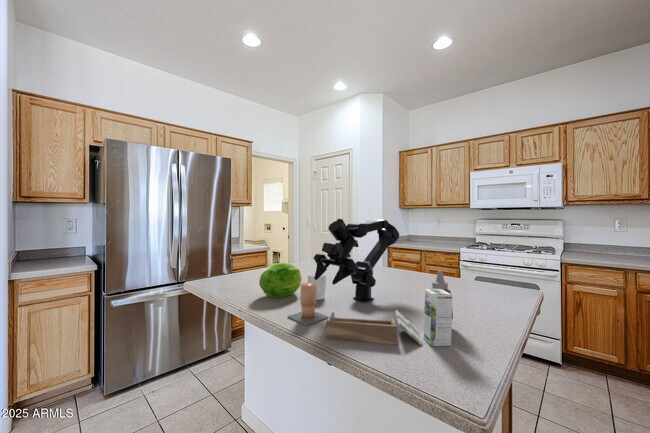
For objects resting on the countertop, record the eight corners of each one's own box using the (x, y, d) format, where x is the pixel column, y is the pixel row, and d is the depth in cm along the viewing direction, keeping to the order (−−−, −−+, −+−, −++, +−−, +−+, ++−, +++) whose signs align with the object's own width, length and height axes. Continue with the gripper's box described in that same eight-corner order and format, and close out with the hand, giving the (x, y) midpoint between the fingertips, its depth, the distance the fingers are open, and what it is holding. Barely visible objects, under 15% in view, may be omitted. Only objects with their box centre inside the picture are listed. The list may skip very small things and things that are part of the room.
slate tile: (309, 310, 105) (309, 309, 105) (328, 317, 98) (328, 316, 98) (287, 317, 98) (287, 316, 98) (306, 325, 91) (306, 324, 91)
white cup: (324, 301, 117) (324, 277, 117) (305, 300, 118) (305, 276, 118) (327, 295, 125) (327, 273, 124) (310, 294, 126) (310, 272, 126)
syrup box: (422, 337, 83) (423, 288, 83) (442, 337, 84) (442, 288, 84) (431, 347, 78) (432, 294, 77) (452, 346, 78) (453, 293, 78)
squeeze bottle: (440, 333, 86) (441, 274, 86) (420, 324, 93) (421, 269, 93) (458, 329, 90) (459, 272, 90) (438, 320, 97) (438, 267, 97)
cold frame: (332, 321, 96) (332, 304, 96) (415, 327, 92) (415, 309, 92) (325, 339, 82) (326, 320, 82) (423, 347, 78) (423, 327, 78)
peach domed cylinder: (315, 313, 101) (315, 282, 101) (316, 319, 96) (316, 286, 96) (300, 313, 101) (300, 282, 101) (300, 319, 95) (300, 286, 95)
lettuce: (281, 285, 138) (308, 293, 131) (248, 297, 118) (278, 308, 111) (284, 255, 137) (312, 263, 130) (251, 262, 117) (282, 271, 110)
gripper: (316, 233, 113) (295, 264, 106) (353, 236, 100) (331, 272, 93) (330, 251, 119) (311, 282, 112) (366, 256, 106) (347, 291, 98)
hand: (323, 281), depth 103 cm, fingers open, 9 cm apart
